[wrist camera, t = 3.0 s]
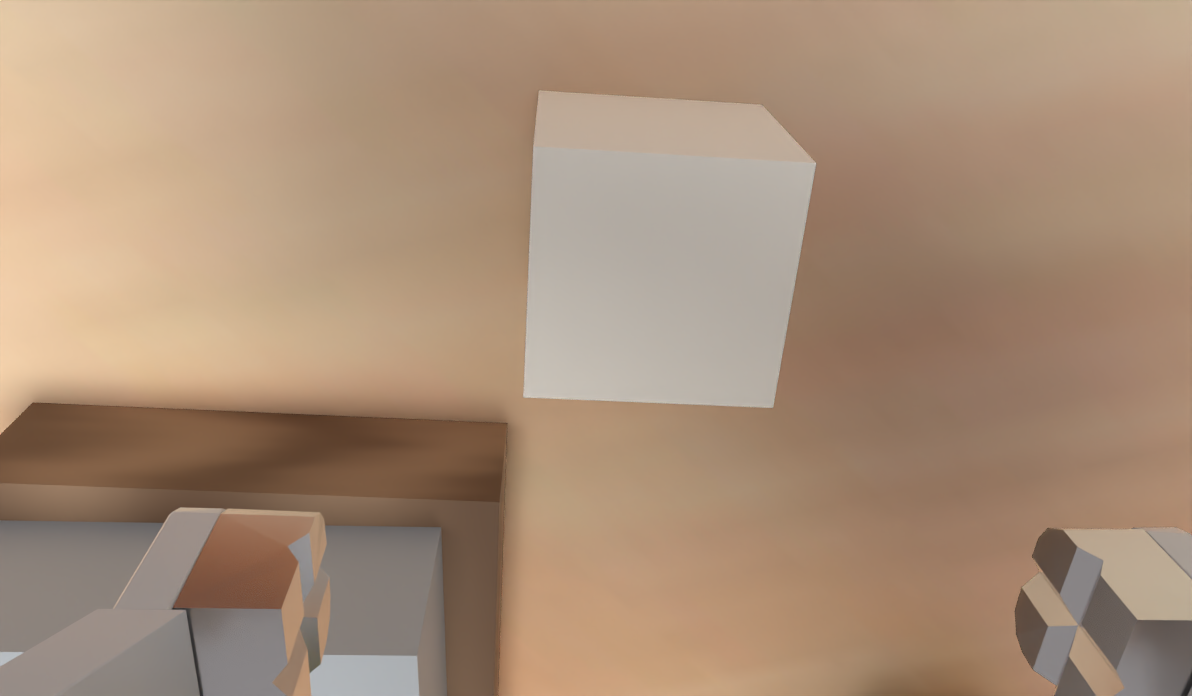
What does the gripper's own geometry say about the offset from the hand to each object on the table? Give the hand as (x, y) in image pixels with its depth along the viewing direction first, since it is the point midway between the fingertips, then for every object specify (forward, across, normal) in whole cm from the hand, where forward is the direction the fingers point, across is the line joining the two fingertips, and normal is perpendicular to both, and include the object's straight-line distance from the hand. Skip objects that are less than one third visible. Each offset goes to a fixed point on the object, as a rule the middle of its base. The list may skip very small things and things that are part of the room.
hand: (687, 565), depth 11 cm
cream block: (+13, -1, 0) cm, 13 cm away
